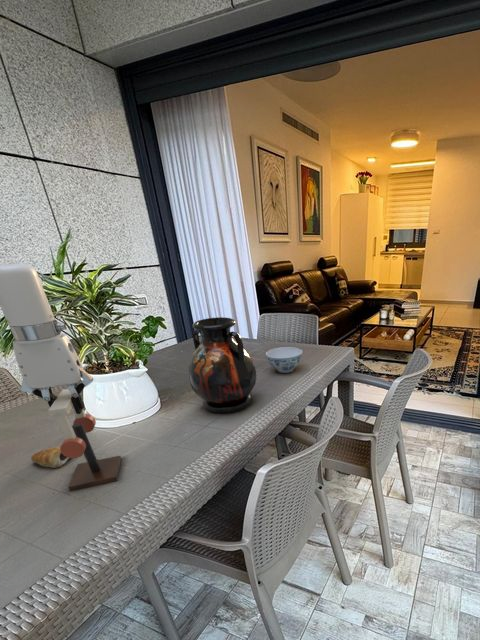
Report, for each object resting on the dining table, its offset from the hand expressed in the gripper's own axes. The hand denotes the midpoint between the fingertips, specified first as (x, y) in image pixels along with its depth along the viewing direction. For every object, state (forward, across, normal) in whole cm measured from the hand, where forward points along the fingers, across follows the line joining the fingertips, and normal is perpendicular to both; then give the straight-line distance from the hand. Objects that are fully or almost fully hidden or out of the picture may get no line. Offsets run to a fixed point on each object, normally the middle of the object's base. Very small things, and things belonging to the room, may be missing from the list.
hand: (70, 412), depth 79 cm
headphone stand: (+17, 0, 0) cm, 17 cm away
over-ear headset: (+8, 0, 0) cm, 8 cm away
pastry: (+18, +12, -11) cm, 24 cm away
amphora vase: (+17, -36, -28) cm, 49 cm away
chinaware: (+17, -64, -52) cm, 84 cm away
